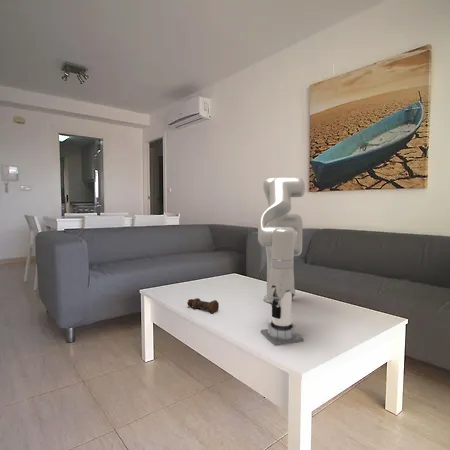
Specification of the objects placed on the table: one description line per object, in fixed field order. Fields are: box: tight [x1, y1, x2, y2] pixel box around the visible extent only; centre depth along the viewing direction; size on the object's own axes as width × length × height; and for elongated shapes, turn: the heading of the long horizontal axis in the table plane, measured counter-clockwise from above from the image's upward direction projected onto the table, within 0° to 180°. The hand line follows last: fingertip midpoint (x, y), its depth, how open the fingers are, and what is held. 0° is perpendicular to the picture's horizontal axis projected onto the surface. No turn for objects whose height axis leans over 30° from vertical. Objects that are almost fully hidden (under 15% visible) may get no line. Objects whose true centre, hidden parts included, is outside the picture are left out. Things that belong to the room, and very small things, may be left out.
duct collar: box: [260, 320, 305, 346], centre depth 106 cm, size 11×11×4 cm
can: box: [272, 291, 293, 327], centre depth 106 cm, size 6×6×12 cm
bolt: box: [187, 297, 220, 314], centre depth 136 cm, size 6×5×15 cm
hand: (281, 314), depth 106 cm, fingers closed on can, 6 cm apart
